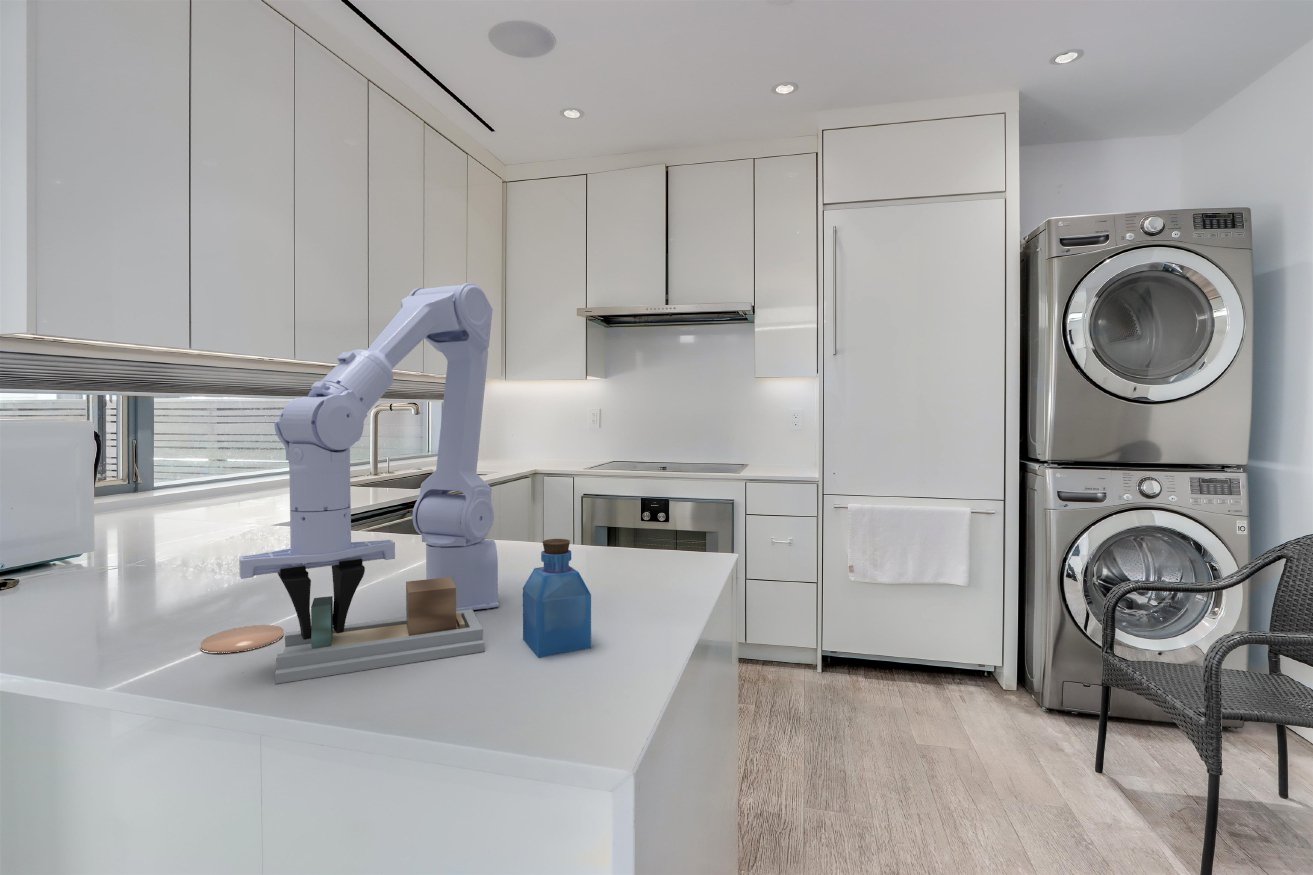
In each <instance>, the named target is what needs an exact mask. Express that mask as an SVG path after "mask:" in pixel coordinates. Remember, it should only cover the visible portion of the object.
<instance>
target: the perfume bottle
mask: <svg viewBox="0 0 1313 875" xmlns="http://www.w3.org/2000/svg"><path fill="white" fill-rule="evenodd" d="M570 544H571V540H570V539H566V538H550V539H544V540H543V541H542V546H543V550H542V551H541V552H540V561H541V562H542V563H543V566H541V567H534V568H533V570H532V572H531V573H530V575H529V577H528V579H527V580H526V581H525V582H524V583H525V584H524V585H523V587H522V641H524V643H525V644H526V646H528V648H529V649H530V650H531V652H532V653H533V654H534V655H535V656H536V657H537V659H539V658H544V657H545V658H546V657H550V656H556V655H562V654H568V653H572V652H578V651H583V650H589V649H592V594H591V591H589V588H588V586H587V584H586V583H585V581H584V579H583V577H582V575H581V574H580V572H579V571H578V570H576V569H575V568H574V567H572V566H570V562H571V561H572V551H571V550H570V549H569V548H570Z"/></svg>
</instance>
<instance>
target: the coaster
mask: <svg viewBox="0 0 1313 875" xmlns="http://www.w3.org/2000/svg"><path fill="white" fill-rule="evenodd" d="M284 632H285V631H284V629H283V628H282V627H281V626H278V625H273V624H272V625H271V624H256V625H247V626H240V627H239V626H238V627H234V628H231V629H226V630H221V631H219V632H216V633H213V634H211V635H209V636H207V637H206V638H204V639H203V640H201V641H200V650H201V649H202V650H204V651H208V652H217V653H218V652H219V653H222V652H223V653H224V652H225V653H226V652H227V653H228V652H237V651H245V650H248V649H249V650H250V649H253V648H258V647H261V646H264V645H267V646H269V645H268V644H270V643H272V642H274V641H277V640H278V639H280V638H281V637H282V636H283V637H284V635H283V633H284ZM283 637H282V638H283ZM282 638H281V639H282ZM281 639H280V640H281ZM278 641H279V640H278ZM278 641H277V642H278ZM272 644H273V643H272ZM270 645H271V644H270ZM261 648H262V647H261ZM258 649H259V648H258ZM202 650H201V651H202ZM250 651H251V650H250ZM245 652H246V651H245Z"/></svg>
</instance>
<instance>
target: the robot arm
mask: <svg viewBox="0 0 1313 875" xmlns="http://www.w3.org/2000/svg"><path fill="white" fill-rule="evenodd" d="M493 312H494V311H493V307H492V305H491V303H490V301H489V299H488V297H487V295H486V294H485V292H484V291H483V289H482V288H481V287H480V286H479V285H477V284H476V283H473V282H467V283H466V282H465V283H463V284H456V285H448V286H447V285H446V286H438V287H416V288H414V289H413V290H411V291H410V292H409V294H408V296H406V297H404V298H402V299H401V301H400V310H399V311H398V312H397V313H396V315H395V316H394V317H393V318H392V320H390V321H389V323H388V324H387V325H386V327H384V329H383V330H382V332H381V333H380V334H379V335H378V336H377V337H376V339H375V340H374V341H373V342H372V343H371V344H370V346H369V347H368V348H367V349H366V350H365V349H360V348H359V349H353V350H351V351H343V352H342V353H340V354H339V355H338V356H337V358H336V359H337V361H338V363H337V364H336V365H335V366H334V367H333V368H332V370H330V371H329V372H328V373H327V374H326V376H324V377H323V378H322V379H321V380H319V381H315V382H314V383H313V384H312V385H310V389H311V390H310V391H309V393H308V394H307V396H301V397H296V398H294V399H291V400H290V401H289V402H288V403H287V404H286V405H285V406H284V408H283V409H282V411H281V413H280V414H279V420H278V421H275V422H274V423H273V424H274V431H275V434H276V436H277V438H278V440H279V441H280V443H281V444H282V445H283V447H284V449H285V460H286V461H288V465H289V466H288V467H289V526H290V528H289V530H290V534H289V536H290V538H289V540H290V541H289V542H290V544H289V545H290V548H286V549H280V550H273V551H270V552H269V551H268V552H263V553H255V554H248V555H242V556H241V555H240V556H239V557H238V558H239V559H238V560H239V563H238V565H239V570H238V571H239V577H240V579H241V580H242V579H243V580H245V579H251V578H252V579H253V578H254V577H255V576H256V577H257V576H262V575H270V574H271V575H272V574H277V575H278V577H279V578H280V580H281V582H282V583H283V586H284V588H285V590H286V591H287V593H288V595H289V598H290V600H291V603H292V605H293V607H294V610H295V612H296V617H297V619H298V624H299V631H301V636H302V638H303V640H306V639H311V607H310V606H311V585H312V584H311V583H312V580H311V578H310V577H309V571H307V570H308V569H309V570H310V569H316V568H324V567H325V568H326V567H331V572H332V573H331V575H332V587H333V588H332V589H333V629H334V630H335V632H336V633H343V632H344V626H345V625H346V620H347V616H348V613H349V609H350V607H351V603H352V601H353V599H354V595H355V593H356V591H357V589H358V586H359V585H360V584H361V581H362V580H363V577H364V576H365V573H366V572H365V570H366V567H365V565H364V564H363V562H371V561H378V560H385V561H389V560H396V542H395V541H393V540H391V539H383V540H369V541H352V522H351V521H352V514H351V513H352V512H351V510H352V506H351V447H352V446H354V445H355V444H356V443H358V442H359V441H360V440H361V438H362V435H363V432H364V427H365V419H366V418H367V417H368V413H369V411H371V409H372V408H373V407H374V406H375V405H376V404H377V402H379V400H380V399H381V398H382V396H384V395H385V394H386V392H387V391H388V390H389V389H390V387H391V386H392V385H393V383H394V372H393V369H394V368H395V367H396V366H397V365H398V364H399V363H400V362H401V361H403V359H404V358H406V356H408V355H409V354H410V352H412V351H413V350H414V349H415V348H416V347H417V346H418V345H420V343H421V342H423V340H424V339H425V341H426V342H428V343H429V344H430V345H431V346H432V347H433V348H434V349H435V350H436V351H437V352H440V353H442V355H443V356H444V357H445V359H446V361H447V364H446V375H445V382H444V391H443V392H444V394H443V403H442V411H441V421H440V429H439V438H438V439H439V440H438V448H437V449H438V450H437V458H436V467H435V468H436V469H435V471H433V472H432V473H431V474H430V475H429V476H428V477H426V479H424V481H422V482H421V484H420V488H419V490H420V491H419V495H418V498H417V500H416V502H415V504H414V507H413V510H412V524H413V528H414V530H415V531H416V533H418V534H419V535H420V536H421V542H422V543H425V557H426V558H425V561H426V562H425V566H426V567H425V568H426V569H425V570H426V572H425V574H426V576H425V577H426V578H425V580H427V579H436V578H446V577H451V579H452V581H453V583H454V585H455V587H456V611H461V610H469V609H472V610H473V611H476V610H484V609H491V608H498V607H499V606H500V603H499V602H498V601H499V584H498V583H499V574H498V573H499V566H498V565H499V561H498V560H499V559H498V550H497V545H496V542H495V539H490V538H486V537H487V536H488V535H489V533H490V531H491V529H492V526H493V523H494V516H495V515H494V509H493V504H492V490H493V489H492V487H491V486H490V485H489V483H488V482H486V481H485V480H484V479H483V478H481V476H480V475H478V473H477V469H478V460H479V459H478V458H479V452H480V442H481V441H480V440H481V431H482V430H481V428H482V420H483V408H484V399H485V390H486V381H487V380H486V379H487V370H488V360H489V359H488V357H489V348H490V339H491V330H492V320H493V319H492V318H493ZM451 492H461V493H462V494H454V493H451Z"/></svg>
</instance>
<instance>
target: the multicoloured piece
mask: <svg viewBox="0 0 1313 875" xmlns="http://www.w3.org/2000/svg"><path fill="white" fill-rule="evenodd" d="M333 605H334V595H329V596H322V597H314V598H313V600H312V603H311V605H310V606H311V607H310V618H311V636H312V649H315V648H316V649H317V648H324V647H332V646H339V645H346V644H353V643H361V642H368V641H375V640H382V639H390V638H397V637H404V636H408V630H407V624H402V625H395V626H387V627H379V628H372V629H364V630H356V631H348V632H343V633H333ZM462 628H465V623H464V621H463V618H462V616H461V614H460V613H456V629H462Z"/></svg>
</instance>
